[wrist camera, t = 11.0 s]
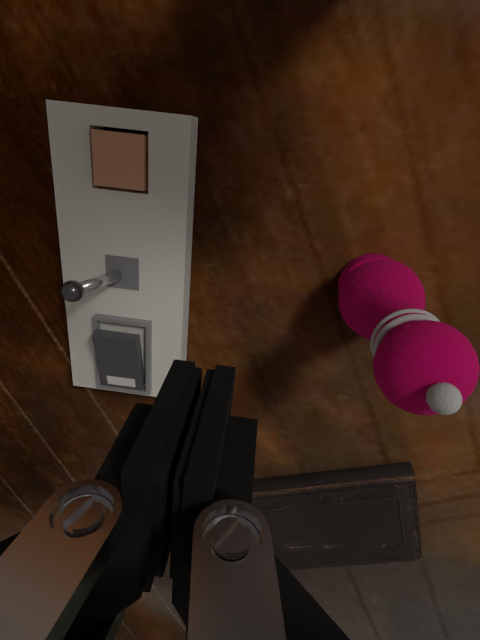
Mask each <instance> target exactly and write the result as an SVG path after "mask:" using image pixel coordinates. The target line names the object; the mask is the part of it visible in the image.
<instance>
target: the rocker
mask: <svg viewBox="0 0 480 640" xmlns="http://www.w3.org/2000/svg"><path fill="white" fill-rule="evenodd" d="M91 336H92V340H93V345H94V349H95V354H96V359H97V363H98V368H99V372H100V377H101V381H102V384H104V385H112V386H119V387H126V388H134V389H141V390H143V387H144V384H145V377H144V368H143V359H142V350H141V342H140V335H139V334H132V333H124V332H116V331H109V330H101V329H95V330H94V332H93V334H92V335H91Z"/></svg>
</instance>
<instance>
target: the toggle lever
mask: <svg viewBox="0 0 480 640" xmlns="http://www.w3.org/2000/svg"><path fill="white" fill-rule="evenodd" d="M123 276H124V273H123V271H122V270H120V269H117V270H114V271H111V272H108V273H105V274H102V275H99V276H96V277H93V278H91V279H88V280H85V281H82V282H78V281H75V280H70V281H67V282H65V283H64V284H63V285H62V287H61V295H62V297H63V298H64V299H65V300H67V301H69V302H77V301H79V300H81V299H82V297H83V296H84V293H87V292H89V291H92V290H95V289H97V288H100V287H102V286H105V285H108V284H110V283H113V282H115V281H118V280H121V279H122V278H123Z"/></svg>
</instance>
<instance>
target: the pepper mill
mask: <svg viewBox="0 0 480 640" xmlns="http://www.w3.org/2000/svg"><path fill="white" fill-rule="evenodd" d="M338 292H339V297H338V303H339V310H340V313H341V315H342V317H343V319H344V320H345V322H346V324H347V325H348V326H349V327H350V328H351V330H352V331H354V332H355V333H357V334H358V335H360V336H362V337H363V338H366V339H369V340H371V341H370V346H371V352H372V354H373V357H374V360H373V371H374V377H375V380H376V382H377V385H378V387H379V388H380V390H381V391H382V393H383V394H384V395H385V397H386V398H387V399H388V400H389V401H390V402H391V403H393V404H394V405H396V406H397V407H399V408H400V409H403V410H405V411H407V412H410V413H414V414H418V415H438V414H441V415H450V414H453V413H455V412H456V411H458V410H459V408H460V407H461V405H462V403H463V402H464V401H465V400H466V399H467V398H468V397H469V396H470V395H471V394H472V392H473V390H474V389H475V387H476V384H477V381H478V379H479V361H478V358H477V354H476V352H475V350H474V348H473V347H472V345H471V343H470V342H469V340H468V339H467V338H466V337H465V336H464V335H463V334H462V333H461V332H460V331H458V330H457V329H456V328H454V327H452V326H450V325H447V324H445V323H442V322H440V321H439V320H438V319H437V318H436V317H435V316H434V315H433V314H431V313H429V312H427V311H424V309H425V304H426V299H425V293H424V288H423V286H422V284H421V281H420V280H419V278H418V277H417V276H416V274H415V273H414V272H413V271H412V270H411V269H410V268H409V267H407V266H406V265H404V264H402V263H400V262H397V261H394V260H393V259H391V258H390V257H387V256H385V255H382V254H375V253H372V254H366V255H362V256H359V257H357V258H355V259H354V260H352V261H351V262H349V263H348V264H347V265H346V266H345V268H344V269H343V271H342V272H341V274H340V277H339V280H338Z"/></svg>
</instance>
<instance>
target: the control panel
mask: <svg viewBox="0 0 480 640" xmlns="http://www.w3.org/2000/svg"><path fill="white" fill-rule="evenodd" d="M46 109H47V119H48V130H49V140H50V150H51V161H52V171H53V181H54V192H55V202H56V212H57V223H58V233H59V243H60V254H61V264H62V274H63V284H64V283H65V282H67V281H70V280H75V281H78V282H82V281H85V280H88V279H91V278H93V277H96V276H99V275H102V274H105V273H108V272H111V271H114V270H117V269H120V270H122V271H123V273H124V276H123V278H122V279H121V280H118V281H115V282H113V283H110V284H108V285H105V286H102V287H100V288H97V289H95V290H92V291H89V292H87V293H84V296H83V297H82V299H81V300H79V301H77V302H69V301H67V300H65V305H66V316H67V326H68V336H69V347H70V357H71V367H72V378H73V385H74V386H81V387H88V388H95V389H103V390H110V391H117V392H124V393H132V394H139V395H146V396H154V397H157V395H158V393H159V390H160V388H161V386H162V384H163V382H164V380H165V378H166V376H167V374H168V371H169V369H170V367H171V365H172V363H173V361H174V360H175V359H177V360H184V361H186V355H187V335H188V314H189V294H190V274H191V254H192V233H193V213H194V193H195V173H196V152H197V132H198V117H194V116H191V115H182V114H173V113H164V112H154V111H145V110H136V109H127V108H118V107H109V106H100V105H91V104H82V103H73V102H64V101H55V100H46ZM104 127H113V128H122V129H131V130H140V131H148V190H145V191H139V190H130V189H122V188H113V187H105V186H96V185H94V176H93V158H92V140H91V129H97V130H104ZM95 329H101V330H109V331H116V332H124V333H132V334H139V335H140V342H141V350H142V359H143V368H144V377H145V384H144V387H143V390H141V389H134V388H126V387H119V386H112V385H104V384H102V381H101V377H100V372H99V368H98V363H97V359H96V354H95V349H94V345H93V340H92V336H91V335H92V334H93V332H94V330H95Z"/></svg>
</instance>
